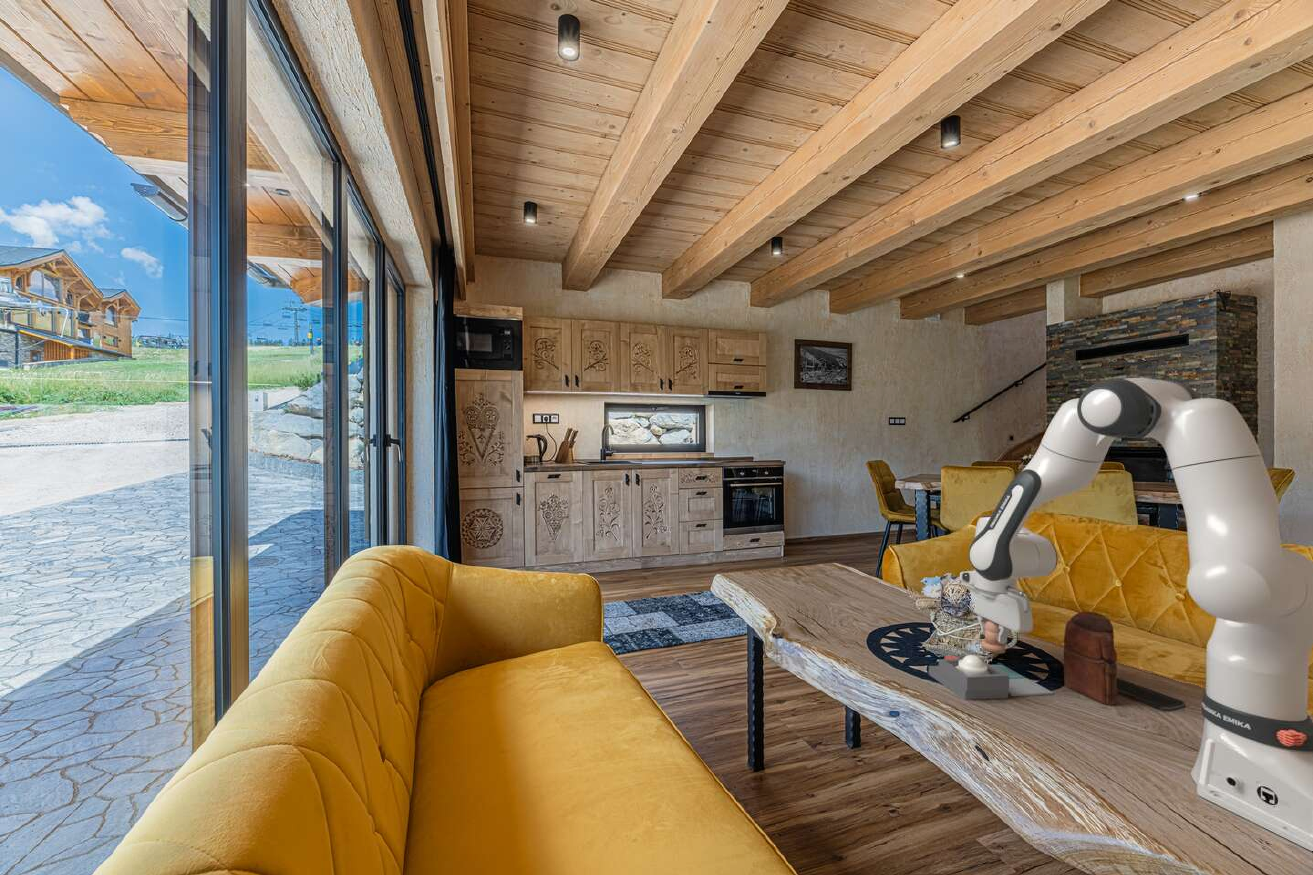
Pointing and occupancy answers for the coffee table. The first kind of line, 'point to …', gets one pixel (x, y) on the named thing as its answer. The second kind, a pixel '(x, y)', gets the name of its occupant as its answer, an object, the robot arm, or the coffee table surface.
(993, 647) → the pawn
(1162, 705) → the phone
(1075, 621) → the brown leather bag
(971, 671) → the dome
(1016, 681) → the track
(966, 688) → the dome base
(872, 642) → the coffee table surface
